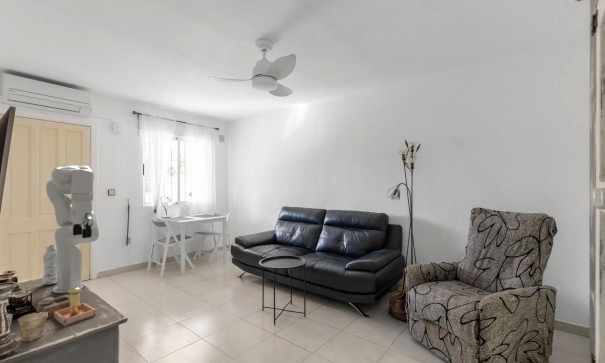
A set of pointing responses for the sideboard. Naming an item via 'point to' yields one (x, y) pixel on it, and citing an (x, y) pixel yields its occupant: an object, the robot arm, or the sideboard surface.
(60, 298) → the block
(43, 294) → the sideboard surface
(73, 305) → the pin
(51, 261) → the plastic bottle
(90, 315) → the tray
